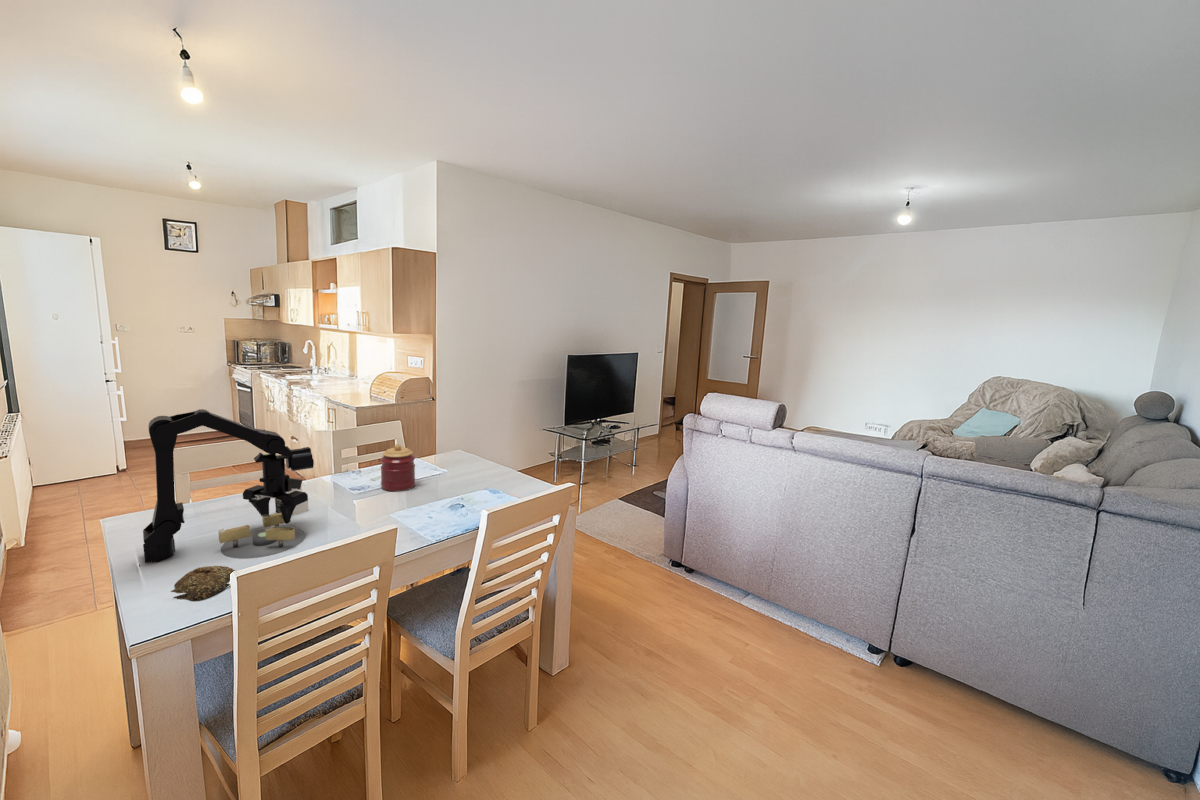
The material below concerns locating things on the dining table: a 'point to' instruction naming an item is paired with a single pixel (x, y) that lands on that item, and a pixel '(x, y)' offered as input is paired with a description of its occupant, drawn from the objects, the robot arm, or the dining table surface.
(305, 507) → the medicine bottle
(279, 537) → the knob near
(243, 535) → the knob left
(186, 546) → the dining table surface
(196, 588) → the brown speckled lumpy part
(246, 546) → the levelling base
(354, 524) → the dining table surface
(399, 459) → the canister
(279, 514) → the wooden plank block
